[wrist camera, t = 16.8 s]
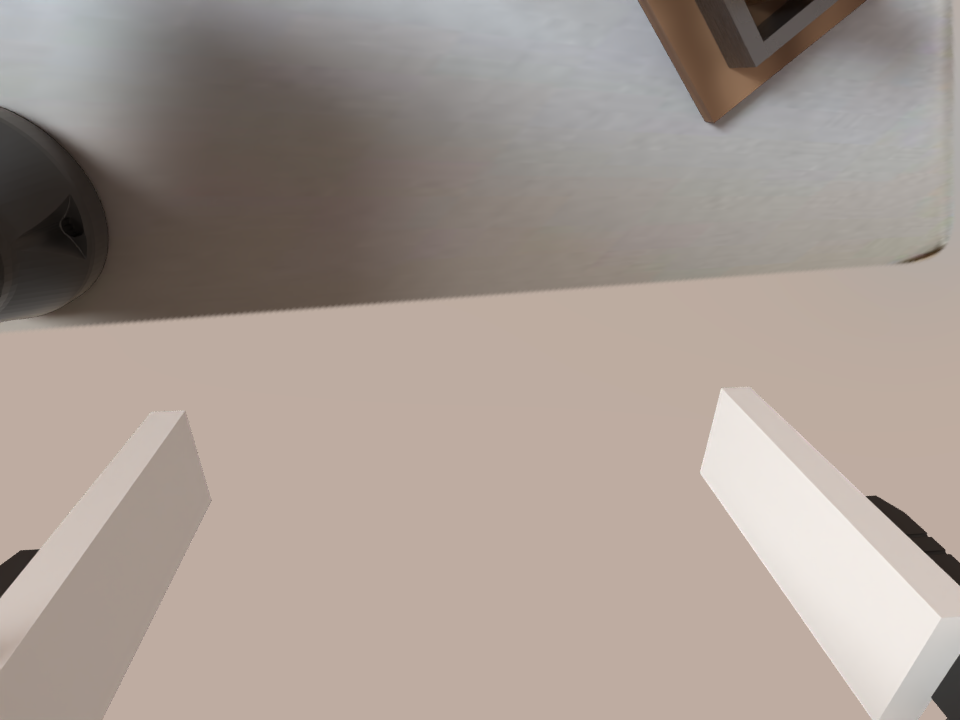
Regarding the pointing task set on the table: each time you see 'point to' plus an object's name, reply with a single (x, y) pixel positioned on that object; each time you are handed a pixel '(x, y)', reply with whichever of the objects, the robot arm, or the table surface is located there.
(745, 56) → the grey square frame
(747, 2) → the gold canister
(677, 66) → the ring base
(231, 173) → the table surface
